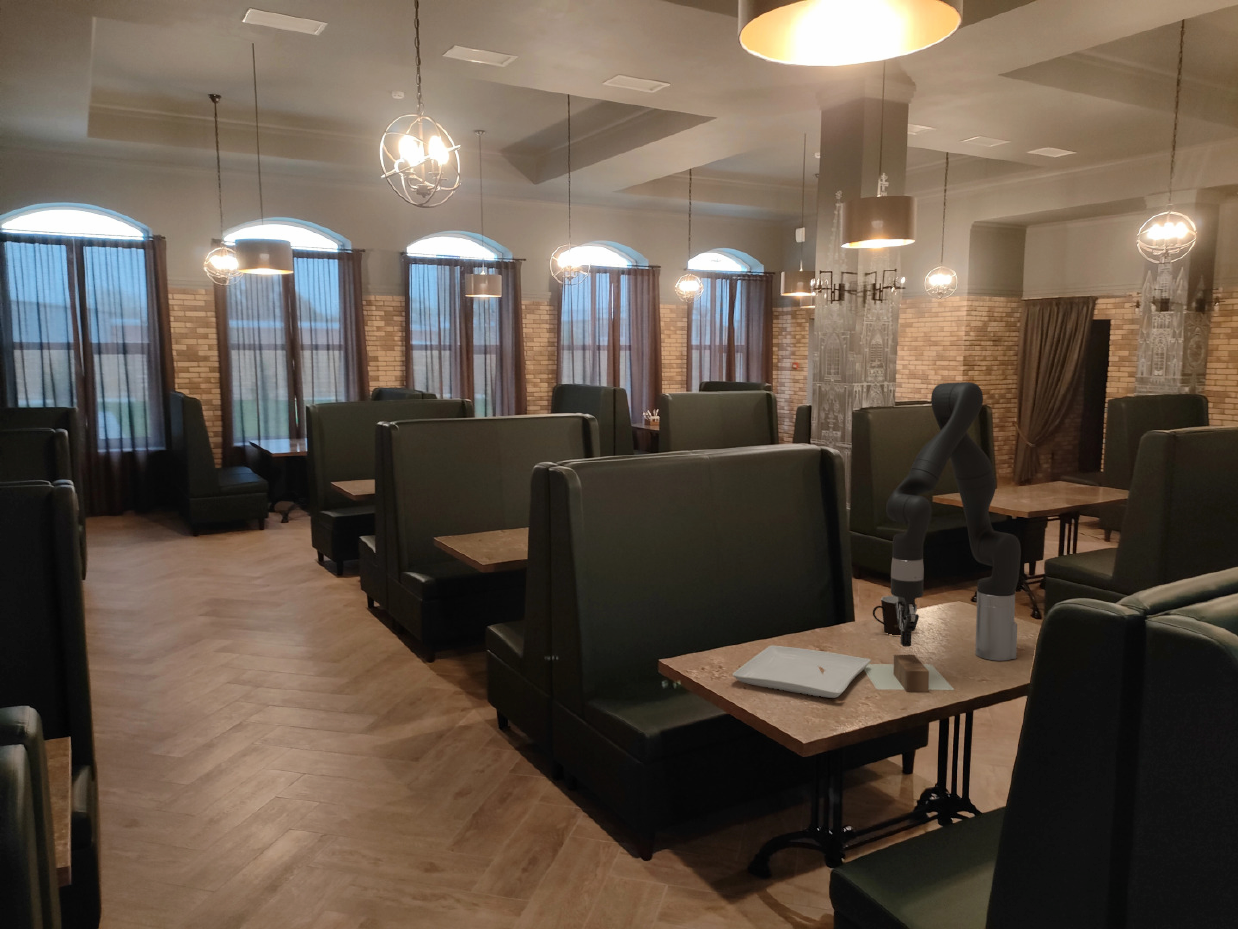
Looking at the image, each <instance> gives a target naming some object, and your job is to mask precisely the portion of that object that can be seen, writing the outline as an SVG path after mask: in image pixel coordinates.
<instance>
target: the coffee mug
mask: <svg viewBox="0 0 1238 929" xmlns="http://www.w3.org/2000/svg"><path fill="white" fill-rule="evenodd" d="M880 601H881V605H876V606H875V607H874V608H873V609H872V616H873V618H874V619H875V621H877V622H879V623H881V625H883V631H884V632H886V633H888V634H892V635H901V630H900V628H899V626H900V625H898V621H897V614H896V608H895V602H897V601H898V597H896V596H893V595H884V596H882V597H880ZM879 608H880V609H881V611H882V620H881V619H879V618H878V616H876V611H877V610H878V609H879Z"/></svg>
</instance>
